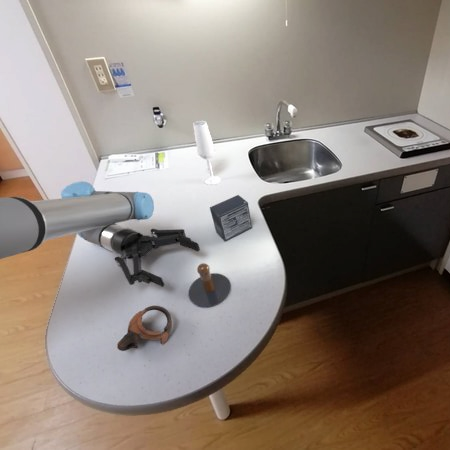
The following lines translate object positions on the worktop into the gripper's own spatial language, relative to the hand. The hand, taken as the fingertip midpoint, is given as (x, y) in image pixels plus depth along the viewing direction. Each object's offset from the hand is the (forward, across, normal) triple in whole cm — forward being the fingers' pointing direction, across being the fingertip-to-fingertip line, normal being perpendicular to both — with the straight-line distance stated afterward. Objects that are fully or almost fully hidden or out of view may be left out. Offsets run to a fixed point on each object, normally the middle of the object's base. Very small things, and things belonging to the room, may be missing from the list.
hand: (181, 263), depth 80 cm
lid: (+8, 0, -7) cm, 10 cm away
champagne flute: (-26, -45, -7) cm, 53 cm away
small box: (0, -23, -7) cm, 24 cm away
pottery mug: (+3, +17, -7) cm, 19 cm away
